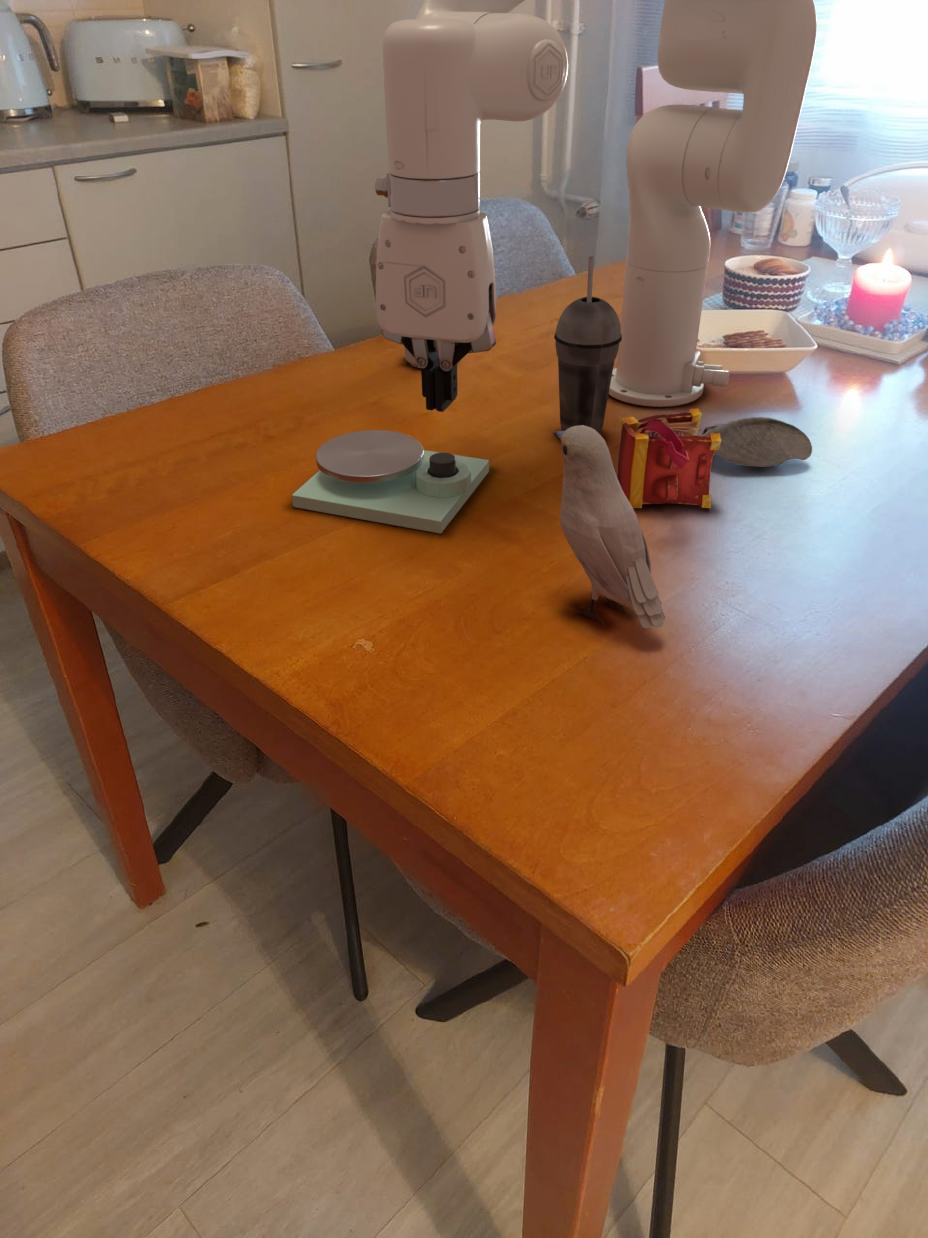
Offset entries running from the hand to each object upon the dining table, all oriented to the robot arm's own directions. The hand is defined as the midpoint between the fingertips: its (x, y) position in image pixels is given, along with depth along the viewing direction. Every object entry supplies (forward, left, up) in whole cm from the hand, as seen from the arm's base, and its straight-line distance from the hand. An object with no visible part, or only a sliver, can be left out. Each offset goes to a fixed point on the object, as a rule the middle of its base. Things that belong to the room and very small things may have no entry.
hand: (440, 405), depth 85 cm
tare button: (0, 0, -7) cm, 7 cm away
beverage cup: (-10, -19, -10) cm, 24 cm away
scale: (+5, 0, -10) cm, 11 cm away
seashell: (-29, -19, -10) cm, 36 cm away
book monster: (-22, -5, -10) cm, 24 cm away
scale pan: (+8, 0, -7) cm, 10 cm away
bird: (-20, +14, -10) cm, 26 cm away
